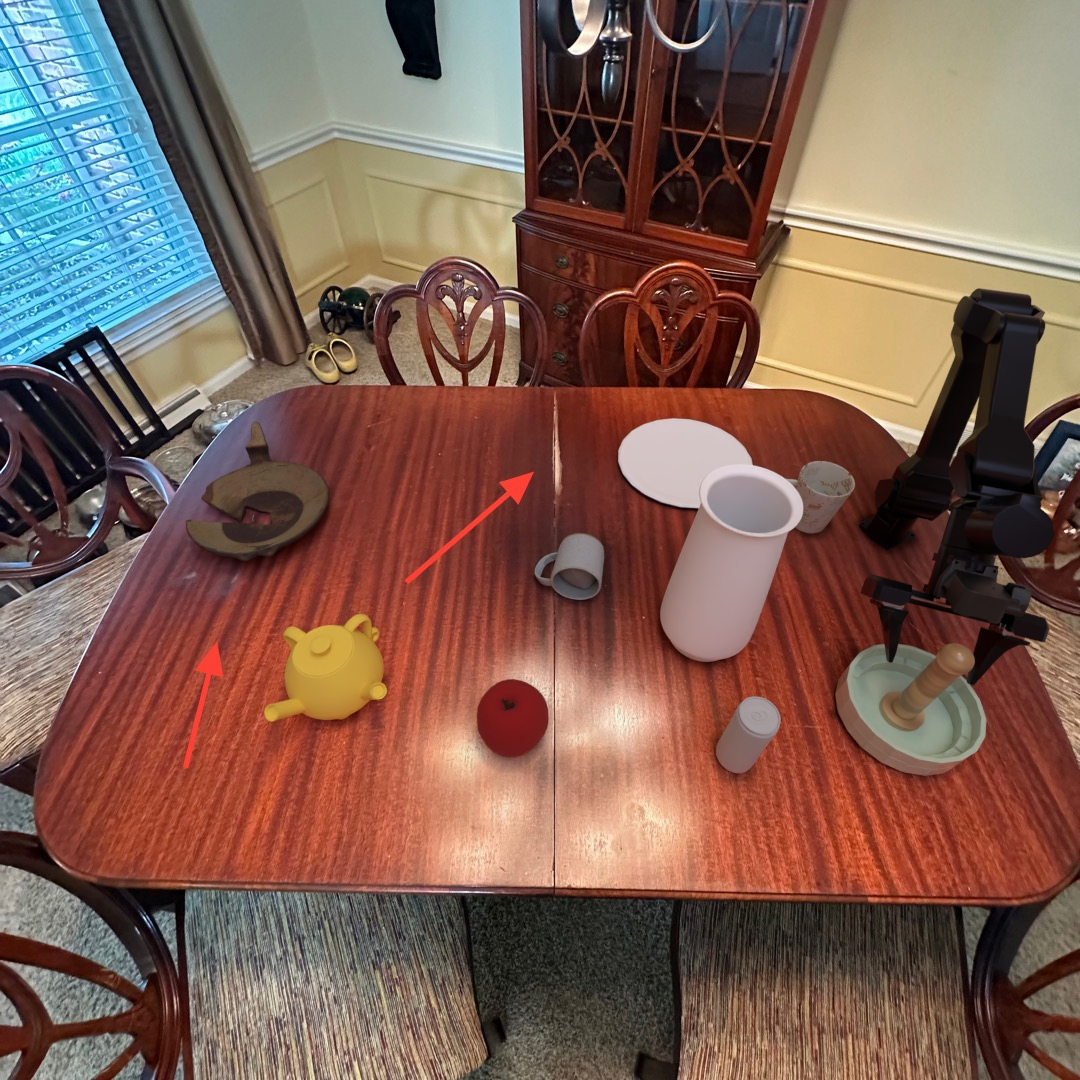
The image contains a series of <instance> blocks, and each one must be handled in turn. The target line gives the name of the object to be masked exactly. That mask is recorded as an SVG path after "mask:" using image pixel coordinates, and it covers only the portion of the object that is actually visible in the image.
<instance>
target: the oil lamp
mask: <svg viewBox="0 0 1080 1080" xmlns="http://www.w3.org/2000/svg"><path fill="white" fill-rule="evenodd" d="M250 429H251V430H250V439H249V441H248V443H247V444H246V445H245V447H244V448H245V451H246V453H247V456H248V457H249V461H250V463H249V464H246V465H245V466H243V467H241V468H237V469H236V470H233V471H230V472H228V473H226V474H224V475H222V476H220V477H218V478H216V479H214V480H213V481H211V482H210V483H209V484H208V485H206V487H205V492H204V493H203V494H202V496H201V497H200V499H201V501H203V502H205V503H206V504H207V505H209V506H211V507H213V509H216V510H217V511H219V512H221V513H222V514H224V515H226V516H228V517H230V518H232V519H234V520H235V521H234V522H229V521H228V522H227V521H225V522H220V521H216V522H214V521H213V522H211V521H206V520H205V521H204V520H195V519H186V520H185V530H186V533H187V535H188V536H189V538H190V539H191V541H193V543H194V544H196V546H198V547H199V548H201V549H202V550H204V551H206V552H208V553H211V554H212V555H217V556H218V557H219V556H220V557H223V558H224V557H225V558H234V559H237V560H239V561H241V562H248V561H251V560H253V559H254V558H257V557H272V556H274V555H275V553H277V552H278V551H279V550H281V549H283V548H285V547H287V546H289V545H291V544H292V543H295V542H296V541H298V540H299V539H301V538H303V537H304V536H305V535H307V534H308V533H309V532H310V531H311V530H312V529H314V527H316V525H317V524H318V523H319V522H320V520H322V518H323V516H324V515H325V513H326V511H327V509H328V507H329V503H330V502H329V501H330V489H329V485H328V483H327V481H326V479H325V478H324V476H322V475H321V474H320V473H319V472H318V471H316V470H314V469H313V468H311V467H309V466H307V465H304V464H301V463H297V462H294V461H293V462H291V461H280V460H279V461H277V460H272V459H271V455H270V449H269V444H268V442H267V439H266V436H265V433H264V431H263V428H262V425H261V424H260V423H259V422H257V421H253V423H252V424H251V428H250ZM246 508H250V509H252V510H253V511H258V512H260V513H261V512H262V513H266V514H269V518H270V522H271V523H270V524H261V523H250V522H241V521H243V518H244V516H245V514H246ZM254 517H255V514H253V515H252V517H251V520H252V522H254ZM236 521H238V522H236Z"/></svg>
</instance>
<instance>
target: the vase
mask: <svg viewBox="0 0 1080 1080" xmlns="http://www.w3.org/2000/svg"><path fill="white" fill-rule="evenodd" d="M786 479H787V478H785V477H783V476H782V475H780V474H778V473H777V472H775V471H773V470H770V469H768V468H765V467H761V466H758V465H754V464H753V465H745V464H735V465H728V466H724V467H720V468H718V469H716V470H714V471H712V472H711V473H709V474H708V475H707V476H706V477H705V478H704V479H703V481H702V483H701V485H700V489H699V497H700V502H701V505H700V507H699V509H697V512H696V514H695V517H694V519H693V521H692V524H691V526H690V529H689V531H688V533H687V536H686V538H685V540H684V543H683V545H682V548H681V551H680V553H679V555H678V558H677V560H676V563H675V566H674V568H673V570H672V573H671V576H670V579H669V581H668V584H667V586H666V590H665V592H664V595H663V598H662V601H661V605H660V609H659V617H660V618H659V619H660V624H661V627H662V629H663V632H664V633H665V635H666V637H667V638H668V639H669V641H670V642H671V644H672V645H673V647H674V649H676V650H677V651H678V652H679V653H680V654H682V655H683V656H685V657H687V658H689V659H690V660H693V661H698V662H701V663H702V662H704V663H710V662H716V661H719V660H726V659H729V658H731V657H734V656H736V655H738V654H739V653H740V652H741V651H742V650H744V649H745V648H746V646H747V645H748V644H749V642H750V641H751V639H752V636H753V635H754V632H755V630H756V627H757V624H758V622H759V619H760V616H761V613H762V611H763V608H764V606H765V603H766V600H767V597H768V594H769V591H770V588H771V586H772V582H773V580H774V576H775V574H776V571H777V569H778V565H779V563H780V559H781V556H782V553H783V550H784V546H785V545H786V544H785V543H786V540H787V537H788V535H789V532H790V531H792V530H793V529H794V528H795V526H796V525H797V524H798V523H799V522H800V520H801V518H802V515H803V502H802V499H801V497H800V495H799V493H798V491H797V490H796V487H794V486H793V485H792V484H791V483H790V482H789V481H787V480H786Z"/></svg>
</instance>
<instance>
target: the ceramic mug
mask: <svg viewBox="0 0 1080 1080" xmlns="http://www.w3.org/2000/svg"><path fill="white" fill-rule="evenodd" d="M552 562H554V564H553V568H552V571H551V574H550V578H546V577H542V574H543V571H544V569H545V567H546V566H547V565H548V564H550V563H552ZM604 563H605V549H604V545H603V544H602V542H601V541H600V540H599V539H598V538H597V537H595V536H593V535H592V534H588V533H583V532H575V533H571V534H569V535H567V536H566V537H564V538H563V539H562V541H561V542H560V545H559V547H558V549H557V551H555V552H551V553H549V554H546V555H545V556H543V557H542V558H541V559H539V561H538V562H537V564H536V565H535V568H534V576H535V578H536V579H537V581H538V583H540V584H541V585H543V586H547V587H548V586H549V587H552V589H553V590H554V591H555V592H556V593H557V594H558V595H561V596H562V597H564V598H567V599H570V600H577V601H584V600H589V599H592V598H594V597H596V596H597V595H598V594H599V592H600V591H601V589H602V584H603V583H602V581H603V574H604V573H603V572H604Z"/></svg>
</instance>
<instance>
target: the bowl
mask: <svg viewBox="0 0 1080 1080" xmlns="http://www.w3.org/2000/svg"><path fill="white" fill-rule="evenodd" d="M936 657H937V655H935V654H933V653H931V652H929V651H926V650H924V649H921V648H919V647H917V646H916V647H915V646H912V645H908V644H902V643H898V648H897V652H896V655H895V658H894V660H893V662H892V663H889V662H888V661H887V660H886V652H885V644H884V643H881V644H874V645H871V646H869V647H867V648H865V649H864V650H861V651H860V652H859V653H858V654H857V655H855V657H854V659H853V660H852V661H851V662H850V664H848V666H847V667H846V669H845V670H844V671H843V672H842V674H841V676H840V677H839V678H838V680H837V684H836V689H835V701H836V702H835V703H836V708H837V713H838V715H839V717H840V719H841V721H842V723H843V725H844V727H845V729H846V731H847V732H848V734H849V735H850V736H851V737H852V738H853V739H854V741H855V742H856V743H857V744H858V746H859V747H860V748H861V749H863V750H864V751H865V752H866V753H868V754H869V755H870V756H872V757H873V758H875V759H876V760H877V761H879V762H880V763H882V764H884V765H886V766H888V767H889V768H890V767H891V768H892V769H895V770H897V771H899V772H902V773H906V774H912V775H918V776H925V777H927V776H935V775H941V774H945V773H947V772H949V771H951V770H952V769H953V768H955V767H957V766H959V765H960V764H962V763H963V762H964V761H966V760H968V758H970V757H972V756H973V755H974V754H975V753H977V752H978V750H979V749H980V747H981V746H982V744H983V742H984V740H985V739H986V736H987V735H986V734H987V715H986V713H985V710H984V707H983V705H982V701H981V699H980V697H979V696H978V695H977V693H976V691H975V690H974V688H973V686H972V685H970V684H968V683H967V678H965V677H964V676H963V675H961V676H960V677H958V678H957V679H956V680H955V681H954V682H953V683H952V684H951V685H950V686H949V687H948V688H947V689H945V690H944V691H943V692H942V693H941V694H940V695H939V696H938V697H937V698H936V699H935V700H934V701H933V702H931V703H930V704H929V705H928V706H927V707H926V708H925V709H924V713H925V721H924V723H923V724H922V726H920V727H919V728H918V729H917V730H915V731H911V732H906V731H901V730H898V729H896V728H894V727H893V726H891V725H890V724H889V723H888V722H887V721H886V720H885V719H884V718H883V716H882V714H881V712H880V702H881V700H882V699H883V697H884V696H885V695H886V694H888V693H890V692H903V691H904V690H905V689H906V688H907V686H908V685H909V684H910V683H911V682H912V681H913V680H914V679H915V678H916V677H917V676H918V675H919V674H920V673H921V672H922V671H923V670H924V669H925V668H926V667H927V666H928V665H929V664H930V663H931V662H932V661H933V660H934V659H935V658H936Z"/></svg>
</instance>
